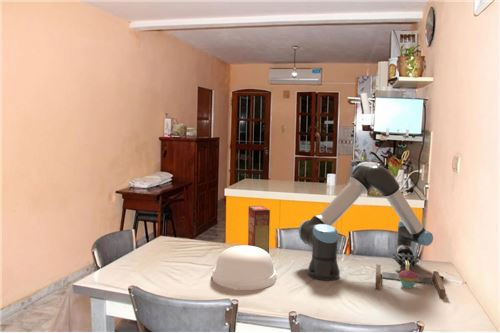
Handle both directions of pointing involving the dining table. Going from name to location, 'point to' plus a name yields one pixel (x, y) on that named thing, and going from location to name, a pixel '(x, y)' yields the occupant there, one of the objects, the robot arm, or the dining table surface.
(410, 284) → the cupcake
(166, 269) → the dining table surface
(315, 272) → the robot arm
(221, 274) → the dome cover
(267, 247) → the food packaging
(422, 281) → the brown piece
